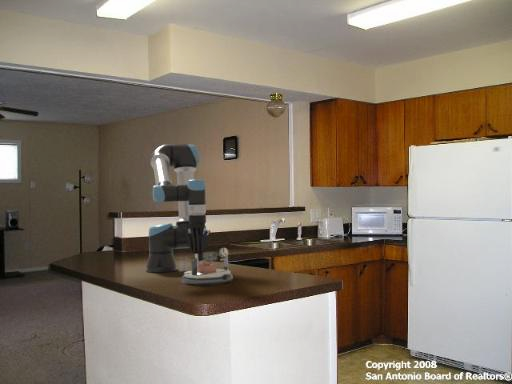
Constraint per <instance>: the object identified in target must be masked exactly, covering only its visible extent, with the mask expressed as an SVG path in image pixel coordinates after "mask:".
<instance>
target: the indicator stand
mask: <svg viewBox="0 0 512 384" xmlns="http://www.w3.org/2000/svg"><path fill="white" fill-rule="evenodd" d="M218 254H219V257H220V259H219V260H220V261H221V262H222V261H223V269H225V270H229V250H228V248H226V247H222V248H220V249H219V252H218Z"/></svg>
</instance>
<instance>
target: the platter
mask: <svg viewBox="0 0 512 384" xmlns="http://www.w3.org/2000/svg"><path fill="white" fill-rule="evenodd" d="M230 274H231V270H229V269H228V270H225V269H224V268H216V272H215V273H206V274H204V273H198V269H197V259H196V258H194V257H193V258H191V270H187V271H185V272H183V276H184V277H185V278H188V279H218V278H228V277H230Z"/></svg>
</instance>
